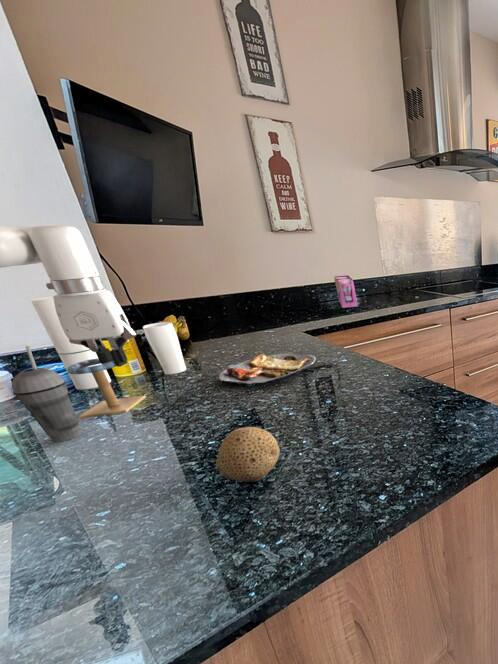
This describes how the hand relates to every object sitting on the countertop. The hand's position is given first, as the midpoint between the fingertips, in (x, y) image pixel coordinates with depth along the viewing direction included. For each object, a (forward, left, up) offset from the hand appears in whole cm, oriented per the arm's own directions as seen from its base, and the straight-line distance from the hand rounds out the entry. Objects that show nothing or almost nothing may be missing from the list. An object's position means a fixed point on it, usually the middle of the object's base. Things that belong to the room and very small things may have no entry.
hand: (116, 364), depth 93 cm
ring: (-4, 0, 0) cm, 4 cm away
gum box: (+42, +118, -11) cm, 126 cm away
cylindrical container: (-19, +21, -11) cm, 30 cm away
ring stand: (-4, 0, -11) cm, 12 cm away
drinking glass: (-1, +25, -11) cm, 27 cm away
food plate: (+27, +14, -11) cm, 32 cm away
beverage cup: (-6, -13, -11) cm, 18 cm away
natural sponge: (+38, -45, -11) cm, 60 cm away
